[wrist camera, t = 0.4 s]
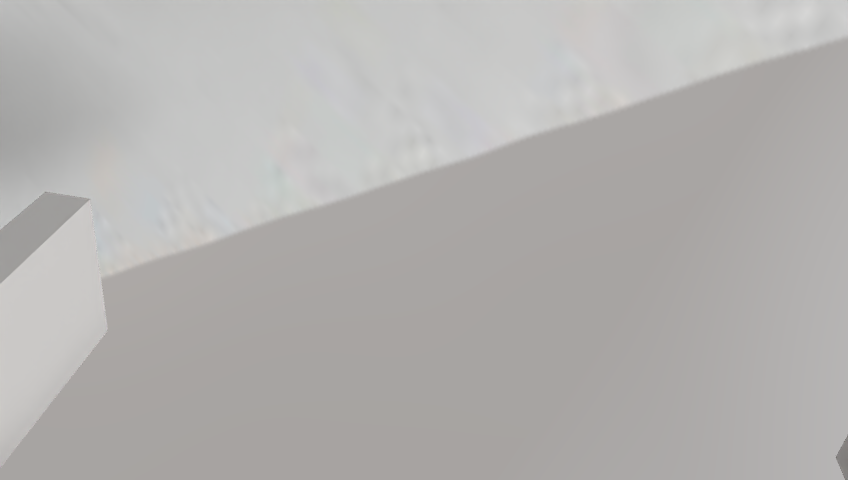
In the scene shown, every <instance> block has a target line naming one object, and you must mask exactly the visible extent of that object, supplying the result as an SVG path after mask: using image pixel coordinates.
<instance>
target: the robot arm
mask: <svg viewBox="0 0 848 480" xmlns="http://www.w3.org/2000/svg"><path fill="white" fill-rule="evenodd" d="M107 331H108V329H107V321H106V314H105V307H104V299H103V291H102V284H101V276H100V268H99V261H98V253H97V246H96V238H95V231H94V223H93V216H92V208H91V201H90V199H87V198H81V197H75V196H69V195H63V194H57V193H51V192H45V193H44V194H42V195H41V196H40V197H39V198H38V199H36V200H35V201H34V202H33V203H32V204H31V205H29V206H28V207H27V208H26V209H25V210H23V211H22V212H21V213H20V214H19V215H18V216H16V217H15V218H14V219H13V220H12V221H10V222H9V223H8V224H7V225H6V226H4V227H3V228H2V229H1V230H0V468H1V466H2V465H3V464H4V463H5V461H6V460H7V459H8V457H9V456H10V455H11V454H12V452H13V451H14V450H15V448H16V447H17V446H18V445H19V443H20V442H21V441H22V439H23V438H24V437H25V436H26V434H27V433H28V432H29V431H30V429H31V428H32V427H33V425H34V424H35V423H36V422H37V420H38V419H39V418H40V416H41V415H42V414H43V413H44V411H45V410H46V409H47V407H48V406H49V405H50V404H51V402H52V401H53V400H54V399H55V397H56V396H57V395H58V393H59V392H60V391H61V390H62V388H63V387H64V385H65V384H66V383H67V382H68V380H69V379H70V378H71V377H72V375H73V374H74V373H75V372H76V370H77V369H78V368H79V366H80V365H81V364H82V363H83V361H84V360H85V359H86V358H87V356H88V355H89V354H90V352H91V351H92V350H93V349H94V347H95V346H96V345H97V343H98V342H99V341H100V340H101V338H102V337H103V336H104V334H105V333H106V332H107ZM836 459H837V461H838V464H839V466H840V468H841V471H842V473H843V475H844V478H845V480H848V436H847V438H846V439H845V441H844V443H843V445H842V447H841V449H840V450H839V452H838V454H837V456H836Z"/></svg>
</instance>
